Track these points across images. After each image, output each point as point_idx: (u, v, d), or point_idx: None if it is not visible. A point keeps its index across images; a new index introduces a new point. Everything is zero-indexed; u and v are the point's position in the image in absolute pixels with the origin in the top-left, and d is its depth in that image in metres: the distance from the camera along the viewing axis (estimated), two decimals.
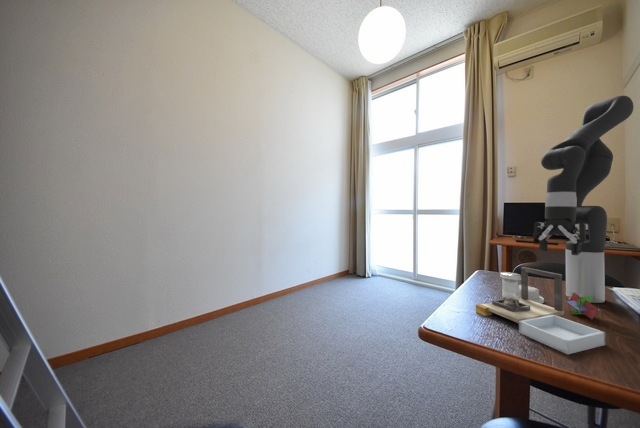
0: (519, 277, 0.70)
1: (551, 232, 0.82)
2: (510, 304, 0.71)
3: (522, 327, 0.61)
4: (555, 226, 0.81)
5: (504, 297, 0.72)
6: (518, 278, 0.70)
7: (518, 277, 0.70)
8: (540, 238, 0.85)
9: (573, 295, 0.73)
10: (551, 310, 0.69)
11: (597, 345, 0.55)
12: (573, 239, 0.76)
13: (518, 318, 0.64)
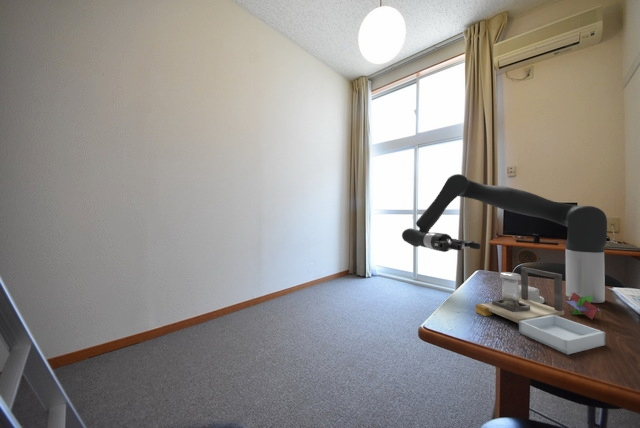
0: (519, 277, 0.70)
1: None
2: (510, 304, 0.71)
3: (522, 327, 0.61)
4: None
5: (504, 297, 0.72)
6: (518, 278, 0.70)
7: (518, 277, 0.70)
8: (469, 247, 0.91)
9: (573, 295, 0.73)
10: (551, 310, 0.69)
11: (597, 345, 0.55)
12: (449, 248, 0.89)
13: (518, 318, 0.64)
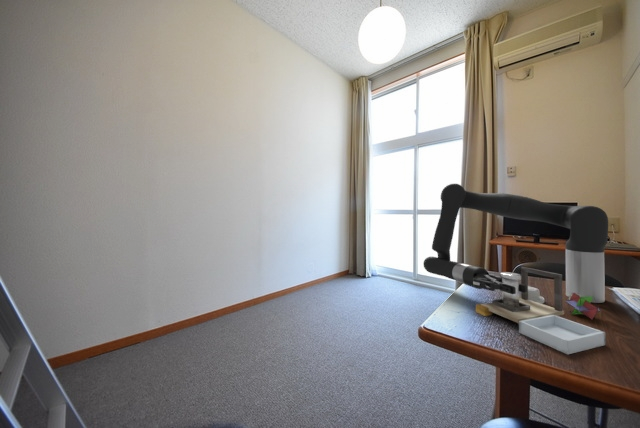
0: (519, 277, 0.70)
1: None
2: (510, 304, 0.71)
3: (522, 327, 0.61)
4: None
5: (504, 297, 0.72)
6: (518, 278, 0.70)
7: (518, 277, 0.70)
8: None
9: (573, 295, 0.73)
10: (551, 310, 0.69)
11: (597, 345, 0.55)
12: None
13: (518, 318, 0.64)
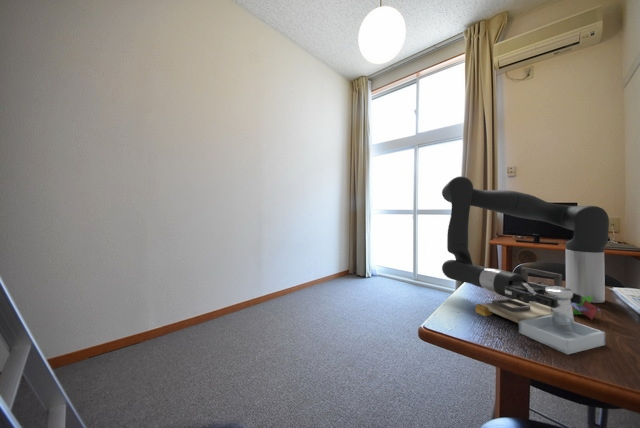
0: (571, 294, 0.57)
1: None
2: (564, 327, 0.59)
3: (522, 327, 0.61)
4: None
5: (555, 318, 0.60)
6: (570, 296, 0.57)
7: (570, 295, 0.57)
8: None
9: None
10: None
11: (597, 345, 0.55)
12: None
13: (518, 318, 0.64)
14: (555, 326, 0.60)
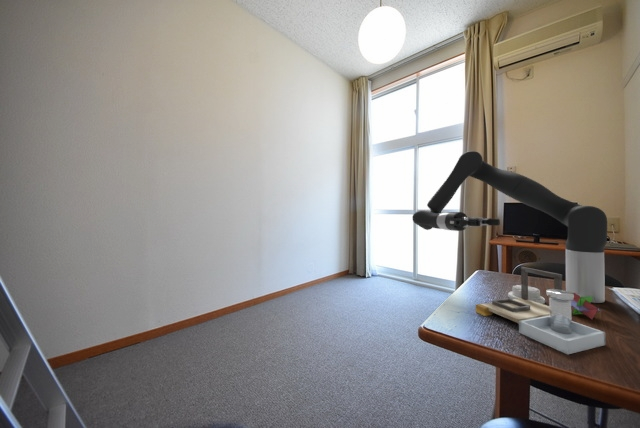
0: (572, 296, 0.59)
1: None
2: (561, 328, 0.60)
3: (522, 327, 0.61)
4: None
5: (553, 319, 0.61)
6: (571, 298, 0.59)
7: (571, 297, 0.59)
8: (487, 225, 0.86)
9: None
10: None
11: (597, 345, 0.55)
12: (466, 225, 0.84)
13: (518, 318, 0.64)
14: (552, 327, 0.61)
